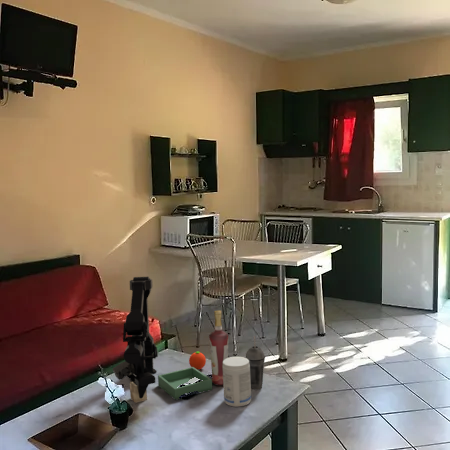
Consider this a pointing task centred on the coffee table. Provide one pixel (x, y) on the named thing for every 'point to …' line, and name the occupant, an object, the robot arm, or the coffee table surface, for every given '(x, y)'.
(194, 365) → the clementine
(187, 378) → the green bin
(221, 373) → the liquor
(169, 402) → the coffee table surface
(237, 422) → the coffee table surface
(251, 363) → the beverage cup
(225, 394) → the supplement tub
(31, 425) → the coffee table surface
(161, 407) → the coffee table surface
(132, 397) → the beech block
